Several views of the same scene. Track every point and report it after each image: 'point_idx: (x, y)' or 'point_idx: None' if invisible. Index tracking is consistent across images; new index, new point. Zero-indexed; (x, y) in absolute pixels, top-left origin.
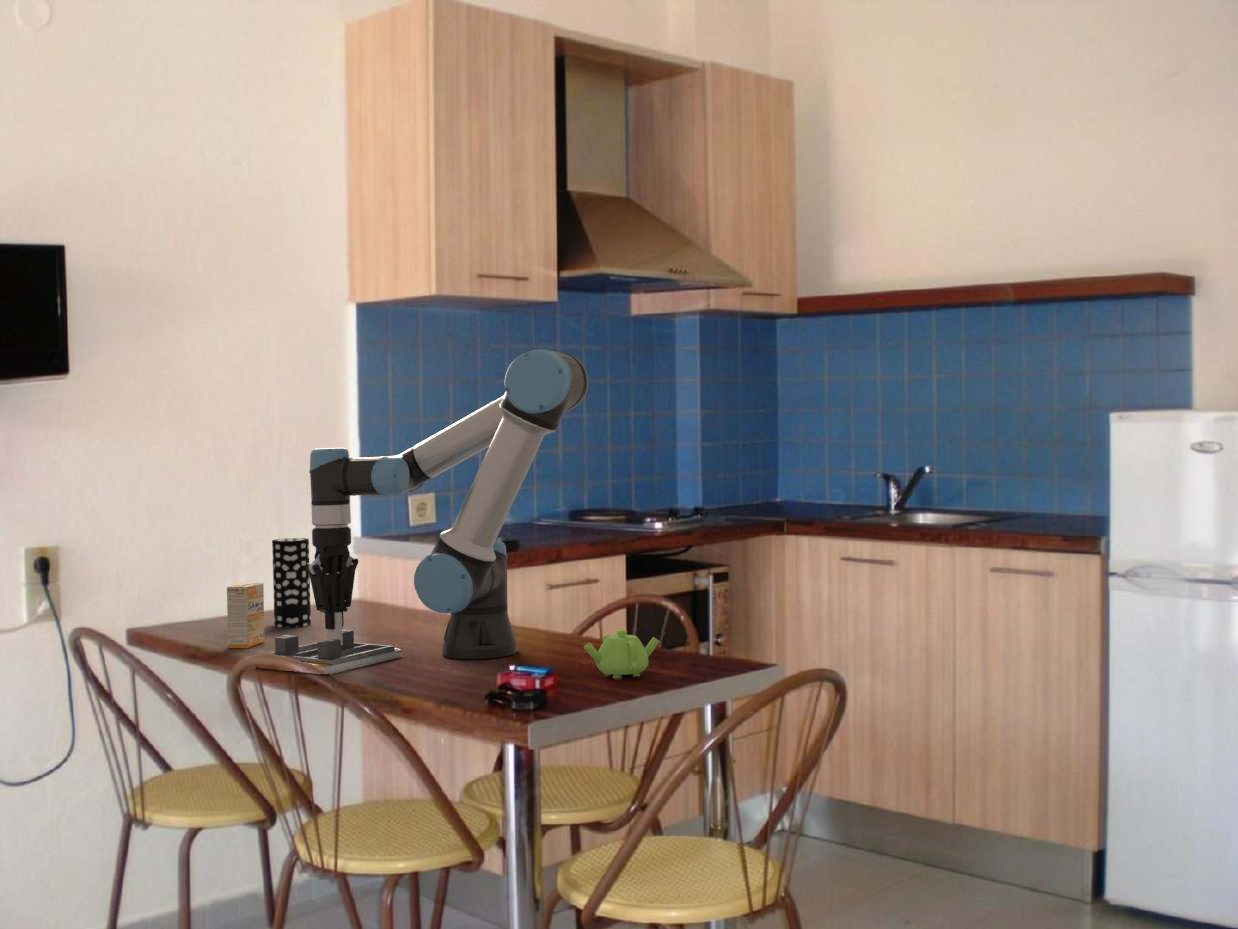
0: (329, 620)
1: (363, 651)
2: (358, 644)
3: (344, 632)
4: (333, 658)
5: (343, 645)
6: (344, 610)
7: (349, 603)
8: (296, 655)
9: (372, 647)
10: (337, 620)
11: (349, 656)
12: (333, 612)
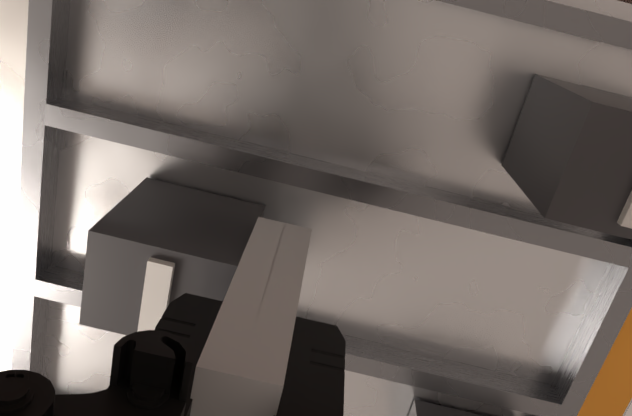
0: (341, 392)
1: (147, 101)
2: (42, 201)
3: (199, 258)
4: (623, 97)
5: (238, 220)
6: (185, 349)
7: (2, 395)
8: (507, 387)
9: (57, 74)
10: (283, 335)
11: (553, 2)
12: (326, 414)
